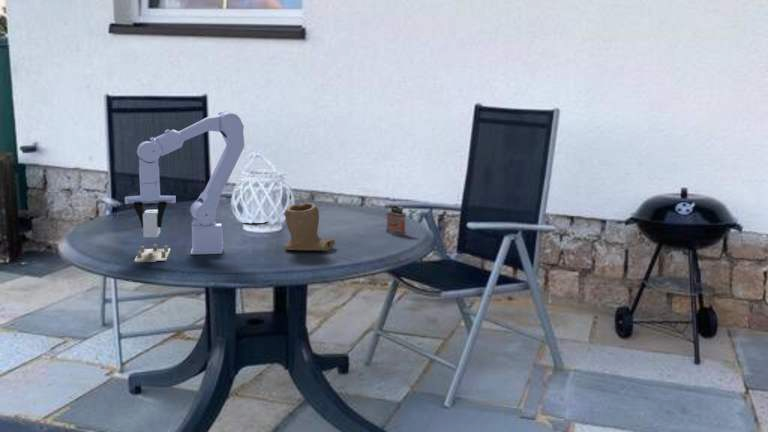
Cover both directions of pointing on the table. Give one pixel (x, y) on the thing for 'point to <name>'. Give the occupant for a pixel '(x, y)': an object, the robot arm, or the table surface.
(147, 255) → the birch pin tray
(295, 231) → the brown hollow piece
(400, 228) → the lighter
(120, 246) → the table surface
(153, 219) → the block
